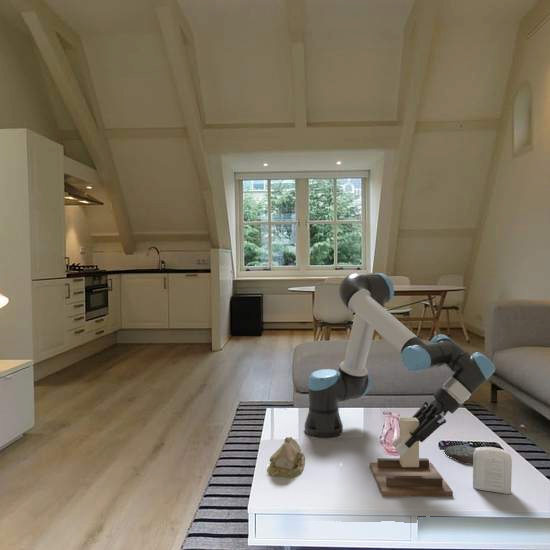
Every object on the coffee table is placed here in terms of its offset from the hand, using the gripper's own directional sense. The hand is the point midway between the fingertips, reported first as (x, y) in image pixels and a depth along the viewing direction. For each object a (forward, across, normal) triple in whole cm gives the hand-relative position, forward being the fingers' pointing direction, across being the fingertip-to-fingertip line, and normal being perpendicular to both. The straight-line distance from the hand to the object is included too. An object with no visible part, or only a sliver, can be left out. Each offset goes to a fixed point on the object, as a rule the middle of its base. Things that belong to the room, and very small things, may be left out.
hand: (396, 449), depth 134 cm
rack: (+4, 0, -10) cm, 10 cm away
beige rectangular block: (+1, 0, -6) cm, 6 cm away
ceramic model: (+31, +9, +16) cm, 36 cm away
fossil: (-12, +17, -27) cm, 34 cm away
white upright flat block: (-12, -5, -26) cm, 29 cm away
